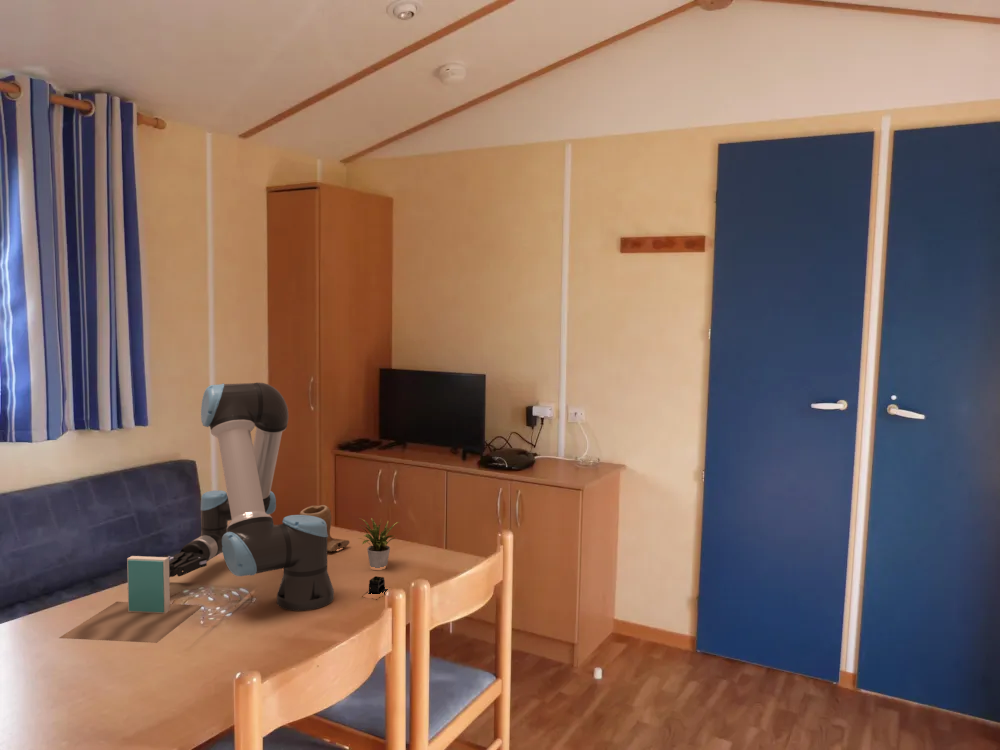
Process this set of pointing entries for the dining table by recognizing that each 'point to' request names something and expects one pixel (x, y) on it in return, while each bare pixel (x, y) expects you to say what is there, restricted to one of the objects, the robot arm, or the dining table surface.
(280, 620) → the dining table surface
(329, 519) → the tan ankle boot
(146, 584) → the tile
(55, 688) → the dining table surface
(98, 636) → the board
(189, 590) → the dining table surface
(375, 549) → the house plant
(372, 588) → the black small block
